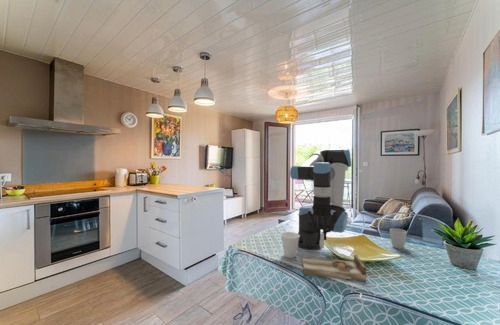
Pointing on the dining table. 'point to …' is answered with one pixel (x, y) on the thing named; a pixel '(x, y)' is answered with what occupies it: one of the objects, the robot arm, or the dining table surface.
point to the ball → (341, 265)
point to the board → (334, 268)
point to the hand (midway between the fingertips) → (321, 246)
